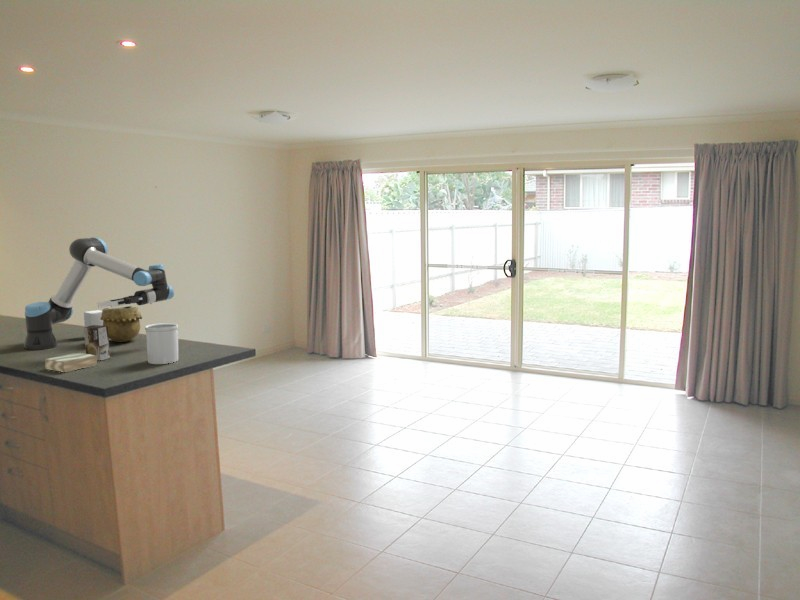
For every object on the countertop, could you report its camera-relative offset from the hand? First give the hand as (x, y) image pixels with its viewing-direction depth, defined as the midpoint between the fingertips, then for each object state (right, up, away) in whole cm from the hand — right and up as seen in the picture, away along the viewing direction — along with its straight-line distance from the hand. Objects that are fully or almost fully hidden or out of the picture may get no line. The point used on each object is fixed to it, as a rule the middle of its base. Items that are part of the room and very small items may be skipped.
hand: (104, 304), depth 302 cm
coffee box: (-1, -26, -4) cm, 27 cm away
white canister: (-28, -19, +48) cm, 58 cm away
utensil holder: (+33, -27, -8) cm, 43 cm away
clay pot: (-7, -21, +36) cm, 42 cm away
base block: (-5, -29, -21) cm, 36 cm away
